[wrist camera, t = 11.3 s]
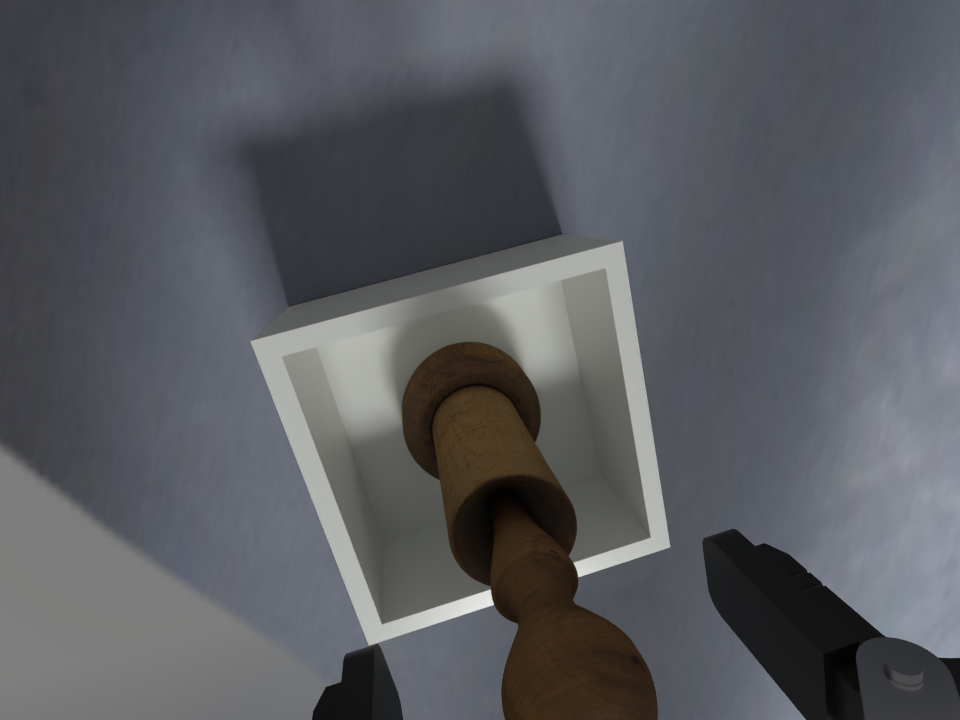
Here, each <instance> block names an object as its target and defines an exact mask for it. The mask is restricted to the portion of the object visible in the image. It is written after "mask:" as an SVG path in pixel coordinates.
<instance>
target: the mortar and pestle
mask: <svg viewBox="0 0 960 720" xmlns="http://www.w3.org/2000/svg"><path fill="white" fill-rule="evenodd" d="M540 423H541V410H540V403H539V399H538V396H537V393H536V391H535V388H534V386H533V384H532V383H531V381H530V380H529V378H528V377H527V375H526V374H525V373H524V371H523V370H522V368H521V367H520V366H519V364H518V363H517V362H516V361H515V360H514V359H513V358H512V357H511V356H509V355H508V354H507V353H505V352H504V351H502V350H500V349H498V348H496V347H494V346H492V345H489V344H485V343H480V342H461V343H455V344H451V345H448V346H445V347H443V348H441V349H439V350H437V351H435V352H434V353H432V354H431V355H430V356H428V357H427V358H426V359H425V360H424V361H423V362H422V363H421V364H420V365H419V366H418V367H417V369H416V370H415V371H414V373H413V374H412V376H411V378H410V380H409V382H408V384H407V386H406V389H405V392H404V396H403V402H402V426H403V434H404V439H405V442H406V445H407V447H408V450H409V452H410V454H411V455H412V457H413V458H414V460H415V461H416V462H417V464H418V465H419V466H420V467H421V468H422V469H423V470H424V471H426V472H427V473H428V474H430V475H431V476H433V477H434V478H436V479H438V480H440V485H441V491H442V498H443V504H444V511H445V518H446V525H447V532H448V539H449V544H450V548H451V552H452V554H453V556H454V558H455V560H456V562H457V563H458V565H459V566H460V568H461V569H462V570H463V571H464V572H465V573H466V574H467V575H469V576H470V577H471V578H473V579H474V580H476V581H478V582H480V583H482V584H484V585H487V586H490V587H491V595H492V600H493V603H494V605H495V607H496V609H497V610H498V611H499V613H500V614H501V615H502V616H504V617H505V618H506V619H508V620H510V621H512V622H515V623H518V631H517V633H516V636H515V639H514V641H513V644H512V647H511V650H510V653H509V656H508V659H507V662H506V665H505V669H504V674H503V680H502V690H501V694H502V706H503V712H504V717H505V720H657V718H658V708H657V697H656V691H655V687H654V683H653V680H652V676H651V674H650V671H649V669H648V667H647V665H646V663H645V661H644V659H643V658H642V656H641V654H640V653H639V651H638V650H637V648H636V647H635V645H634V644H633V642H632V641H631V639H630V638H629V637H628V636H627V635H626V634H625V633H624V632H623V631H622V630H620V629H619V628H618V627H617V626H616V625H614V624H612V623H611V622H609V621H608V620H606V619H604V618H603V617H601V616H599V615H597V614H594V613H593V612H591V611H589V610H587V609H585V608H582V607H580V606H578V605H576V604H575V603H574V602H573V598H574V596H575V593H576V591H577V587H578V573H577V570H576V567H575V565H574V563H573V561H572V560H571V559H570V557H569V555H570V553H571V551H572V549H573V546H574V543H575V540H576V535H577V518H576V513H575V510H574V507H573V505H572V503H571V501H570V499H569V498H568V496H567V494H566V493H565V491H564V489H563V488H562V486H561V485H560V483H559V482H558V480H557V478H556V477H555V475H554V474H553V472H552V470H551V469H550V467H549V466H548V464H547V462H546V461H545V459H544V457H543V456H542V454H541V452H540V451H539V449H538V447H537V446H536V444H535V442H536V440H537V437H538V434H539V430H540Z"/></svg>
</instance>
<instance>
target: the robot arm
mask: <svg viewBox="0 0 960 720" xmlns="http://www.w3.org/2000/svg"><path fill="white" fill-rule="evenodd" d="M703 552H704V560H705V567H706V575H707V582H708V589H709V593H710V596H711V599H712V601H713V603H714V605H715V607H716V609H717V611H718V612H719V614H720V615H721V617H722V618H723V619H724V620H725V621H726V623H727V624H728V625H729V626H730V628H731V629H732V630H733V631H734V632H735V634H736V635H737V636H738V637H739V638H740V640H741V641H742V642H743V643H744V645H745V646H746V647H747V648H748V649H749V651H750V652H751V653H752V654H753V656H754V657H755V658H756V659H757V660H758V662H759V663H760V664H761V665H762V666H763V668H764V669H765V670H766V671H767V673H768V674H769V675H770V676H771V677H772V679H773V680H774V681H775V682H776V683H777V685H778V686H779V687H780V688H781V690H782V691H783V692H784V693H785V694H786V696H787V697H788V698H789V699H790V700H791V702H792V703H793V704H794V705H795V707H796V708H797V709H798V710H799V711H800V713H801V714H802V715H803V716H804V718H805V719H806V720H960V658H938V657H936V656H935V655H934V654H932V653H931V652H929V651H928V650H926V649H924V648H923V647H921V646H919V645H916V644H914V643H911V642H908V641H905V640H902V639H897V638H889V637H885V636H884V635H882V634H881V633H880V632H879V631H878V630H877V629H875V628H874V627H873V626H872V625H871V624H870V623H868V622H867V621H866V620H865V619H864V618H862V617H861V616H860V615H859V614H858V613H857V612H855V611H854V610H853V609H852V608H851V607H850V606H848V605H847V604H846V603H845V602H844V601H843V600H841V599H840V598H839V597H838V596H837V595H836V594H834V593H833V592H832V591H831V590H830V589H829V588H827V587H826V586H823V585H822V583H821V582H820V581H819V580H818V579H817V578H816V577H814V576H813V575H812V574H811V573H808V572H807V570H806V569H805V568H804V567H803V566H802V565H800V564H799V563H798V562H797V561H796V560H795V559H793V558H792V557H791V556H790V555H789V554H787V553H785V552H783V551H780V550H778V549H776V548H774V547H772V546H770V545H767V544H765V543H764V544H761V545H758V546H754V545H753V544H752V543H751V542H750V541H749V540H748V539H746V538H745V537H744V536H743V535H742V534H741V533H740V532H739V531H737V530H735V529H731V530H727V531H724V532H721V533H718V534H715V535H712V536H709V537H706V538H704V539H703ZM312 720H403V716H402V709H401V703H400V699H399V695H398V692H397V689H396V687H395V684H394V681H393V679H392V676H391V674H390V671H389V668H388V666H387V663H386V660H385V658H384V655H383V653H382V650H381V648H380V646H379V645H378V644H375V645H372V646H369V647H366V648H363V649H360V650H356V651H353V652H350V653H347V654H346V655H345V657H344V662H343V671H342V680H341V682H340V683H337V684H334V685H331V686H328V687H326V688H325V690H324V692H323V694H322V696H321V698H320V700H319V701H318V703H317V705H316V707H315V709H314V711H313V717H312Z"/></svg>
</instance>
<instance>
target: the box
mask: <svg viewBox="0 0 960 720" xmlns="http://www.w3.org/2000/svg"><path fill="white" fill-rule="evenodd" d="M461 342H480V343H485V344H489V345H492V346H494V347H496V348H498V349H500V350H502V351H504V352H505V353H507V354H508V355H509V356H511V357H512V358H513V359H514V360H515V361H516V362H517V363H518V364H519V366H520V367H521V368H522V370H523V371H524V373H525V374H526V375H527V377H528V378H529V380H530V381H531V383H532V384H533V386H534V388H535V391H536V393H537V396H538V399H539V403H540V410H541V423H540V430H539V434H538V437H537V440H536V442H535V444H536V446H537V447H538V449H539V451H540V452H541V454H542V456H543V457H544V459H545V461H546V462H547V464H548V466H549V467H550V469H551V470H552V472H553V474H554V475H555V477H556V478H557V480H558V482H559V483H560V485H561V486H562V488H563V489H564V491H565V493H566V494H567V496H568V498H569V499H570V501H571V503H572V505H573V507H574V510H575V513H576V518H577V535H576V540H575V543H574V546H573V549H572V551H571V553H570V555H569V557H570V559H571V560H572V561H573V563H574V565H575V567H576V570H577V573H578V577H580V576H584V575H587V574H590V573H593V572H596V571H599V570H602V569H605V568H608V567H611V566H614V565H617V564H620V563H623V562H626V561H629V560H633V559H636V558H639V557H642V556H645V555H648V554H651V553H654V552H657V551H660V550H663V549H666V548H669V547H670V542H669V536H668V529H667V523H666V517H665V510H664V504H663V497H662V491H661V485H660V478H659V472H658V465H657V459H656V452H655V446H654V440H653V433H652V427H651V420H650V414H649V408H648V401H647V395H646V388H645V382H644V376H643V369H642V363H641V356H640V350H639V343H638V337H637V331H636V324H635V318H634V311H633V305H632V299H631V292H630V286H629V279H628V273H627V266H626V260H625V254H624V247H623V241H618V240H610V239H601V238H592V237H583V236H575V235H566V234H561V235H558V236H554V237H550V238H546V239H543V240H539V241H535V242H531V243H527V244H524V245H520V246H516V247H512V248H509V249H505V250H501V251H497V252H494V253H490V254H486V255H482V256H478V257H475V258H471V259H467V260H463V261H460V262H456V263H452V264H448V265H444V266H441V267H437V268H433V269H429V270H426V271H422V272H418V273H414V274H411V275H407V276H403V277H399V278H395V279H392V280H388V281H384V282H380V283H377V284H373V285H369V286H365V287H362V288H358V289H354V290H350V291H346V292H343V293H339V294H335V295H331V296H328V297H324V298H320V299H316V300H312V301H309V302H305V303H301V304H297V305H294V306H290V307H288V308H287V309H286V310H284V311H283V312H282V313H281V314H280V315H279V316H278V317H277V318H276V319H274V320H273V321H272V322H271V323H270V324H269V325H268V326H267V327H266V328H264V329H263V330H262V331H261V332H260V333H259V334H258V335H257V336H256V337H255V338H253V339H252V340H251V344H252V346H253V349H254V351H255V354H256V357H257V359H258V362H259V364H260V367H261V369H262V372H263V375H264V377H265V380H266V382H267V385H268V387H269V390H270V393H271V395H272V398H273V400H274V403H275V405H276V408H277V411H278V413H279V416H280V418H281V421H282V423H283V426H284V429H285V431H286V434H287V436H288V439H289V441H290V444H291V447H292V449H293V452H294V454H295V457H296V459H297V462H298V465H299V467H300V470H301V472H302V475H303V477H304V480H305V483H306V485H307V488H308V490H309V493H310V495H311V498H312V500H313V503H314V506H315V508H316V511H317V513H318V516H319V518H320V521H321V524H322V526H323V529H324V531H325V534H326V536H327V539H328V542H329V544H330V547H331V549H332V552H333V554H334V557H335V560H336V562H337V565H338V567H339V570H340V572H341V575H342V578H343V580H344V583H345V585H346V588H347V590H348V593H349V596H350V598H351V601H352V603H353V606H354V608H355V611H356V614H357V616H358V619H359V621H360V624H361V626H362V629H363V632H364V634H365V637H366V639H367V642H368V644H369V645H372V644H375V643H378V642H381V641H384V640H388V639H391V638H394V637H397V636H400V635H403V634H406V633H409V632H412V631H415V630H418V629H421V628H424V627H427V626H430V625H433V624H437V623H440V622H443V621H446V620H449V619H452V618H455V617H458V616H461V615H464V614H467V613H470V612H473V611H476V610H479V609H482V608H486V607H489V606H492V605H494V603H493V600H492V595H491V587H490V586H487V585H484V584H482V583H480V582H478V581H476V580H474V579H473V578H471V577H470V576H469V575H467V574H466V573H465V572H464V571H463V570H462V569H461V568H460V566H459V565H458V563H457V562H456V560H455V558H454V556H453V554H452V552H451V548H450V544H449V539H448V532H447V525H446V518H445V511H444V504H443V498H442V491H441V485H440V480H438V479H436V478H434V477H433V476H431V475H430V474H428V473H427V472H426V471H424V470H423V469H422V468H421V467H420V466H419V465H418V464H417V462H416V461H415V460H414V458H413V457H412V455H411V454H410V452H409V450H408V447H407V445H406V442H405V439H404V434H403V426H402V402H403V396H404V392H405V389H406V386H407V384H408V382H409V380H410V378H411V376H412V374H413V373H414V371H415V370H416V369H417V367H418V366H419V365H420V364H421V363H422V362H423V361H424V360H425V359H426V358H427V357H428V356H430V355H431V354H432V353H434V352H435V351H437V350H439V349H441V348H443V347H445V346H448V345H451V344H455V343H461Z"/></svg>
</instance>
